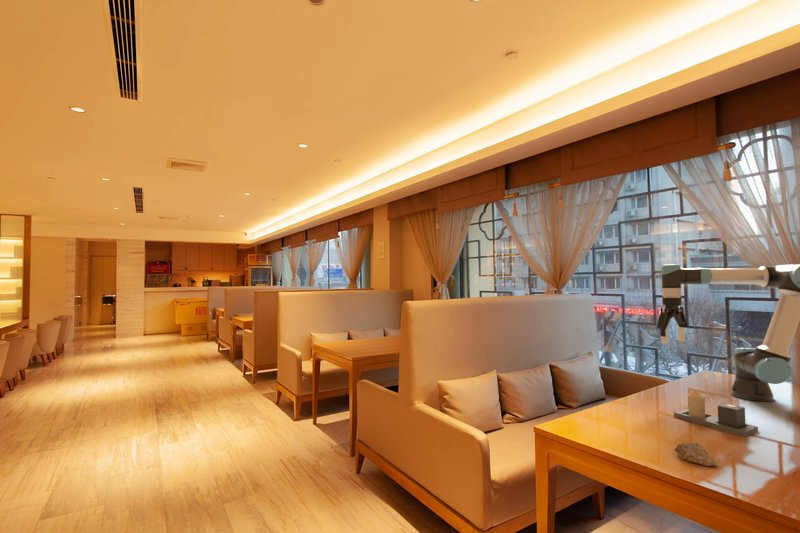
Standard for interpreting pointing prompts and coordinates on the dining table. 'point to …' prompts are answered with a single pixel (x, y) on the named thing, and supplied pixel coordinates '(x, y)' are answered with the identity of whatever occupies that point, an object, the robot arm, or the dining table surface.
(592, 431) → the dining table surface
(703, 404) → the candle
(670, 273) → the robot arm
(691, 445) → the rock
